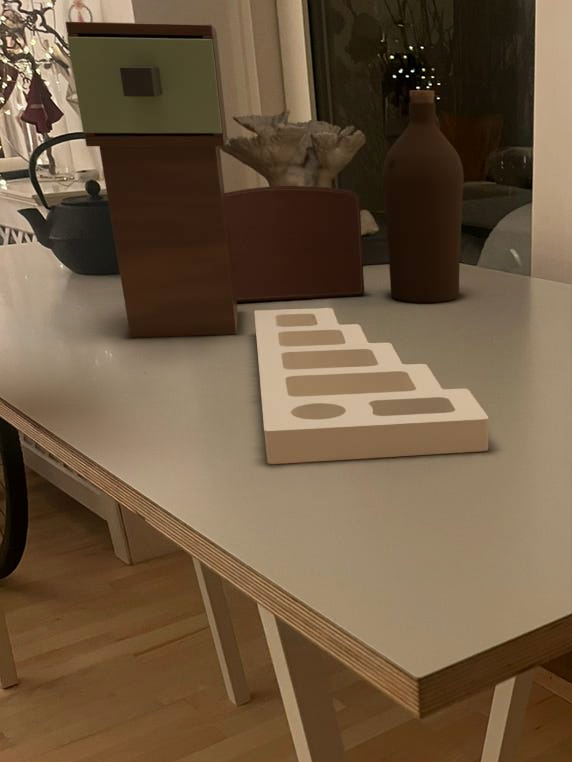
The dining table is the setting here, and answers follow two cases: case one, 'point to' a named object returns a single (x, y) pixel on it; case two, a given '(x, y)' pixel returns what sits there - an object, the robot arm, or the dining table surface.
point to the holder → (353, 395)
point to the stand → (168, 212)
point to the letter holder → (295, 243)
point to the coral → (304, 162)
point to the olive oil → (423, 208)
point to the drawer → (145, 85)
